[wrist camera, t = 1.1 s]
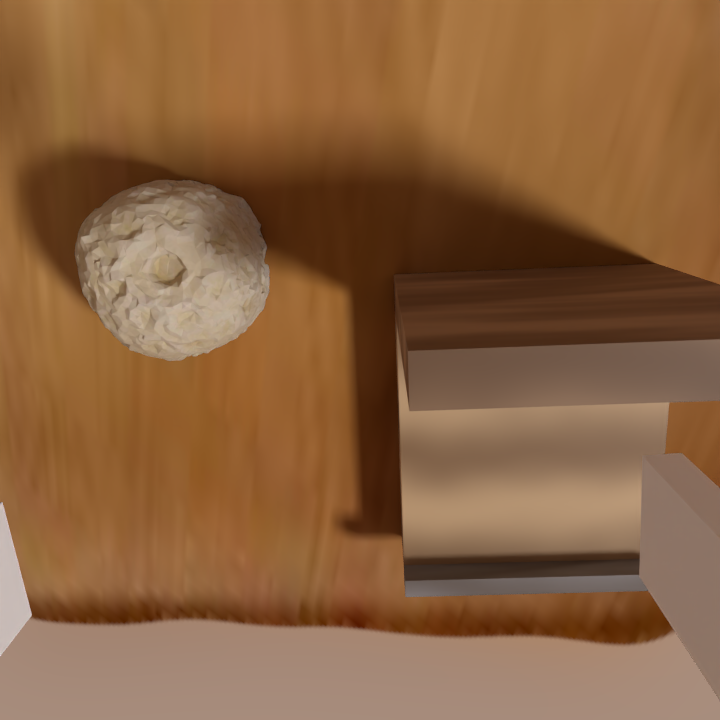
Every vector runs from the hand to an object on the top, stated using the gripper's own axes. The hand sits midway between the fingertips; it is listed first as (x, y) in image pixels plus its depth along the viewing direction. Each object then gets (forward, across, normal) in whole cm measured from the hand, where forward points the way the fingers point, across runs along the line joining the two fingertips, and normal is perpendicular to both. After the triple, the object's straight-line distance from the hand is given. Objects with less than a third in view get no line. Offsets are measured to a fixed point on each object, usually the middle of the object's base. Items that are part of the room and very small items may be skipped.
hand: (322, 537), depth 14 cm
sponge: (+24, -9, +3) cm, 26 cm away
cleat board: (+24, +9, -7) cm, 27 cm away
